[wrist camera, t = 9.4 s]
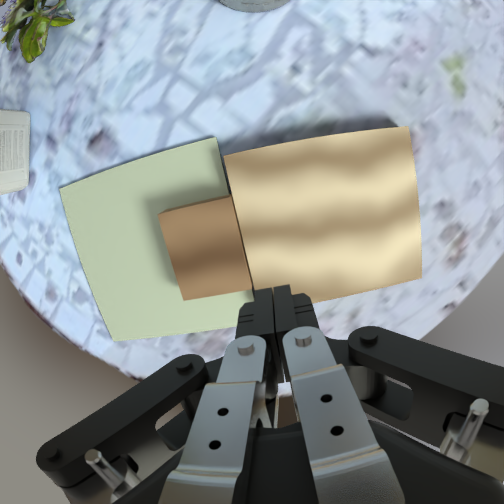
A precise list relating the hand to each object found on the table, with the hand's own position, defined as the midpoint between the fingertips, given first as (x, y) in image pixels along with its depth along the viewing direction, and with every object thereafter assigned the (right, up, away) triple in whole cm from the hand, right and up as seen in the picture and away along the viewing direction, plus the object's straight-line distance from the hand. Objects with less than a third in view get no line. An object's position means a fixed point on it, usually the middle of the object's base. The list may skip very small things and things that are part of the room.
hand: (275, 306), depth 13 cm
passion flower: (-25, +32, +10) cm, 42 cm away
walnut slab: (-5, +3, +18) cm, 19 cm away
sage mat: (-12, +2, +19) cm, 22 cm away
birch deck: (+7, +6, +17) cm, 19 cm away
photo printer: (-30, +15, +15) cm, 37 cm away
